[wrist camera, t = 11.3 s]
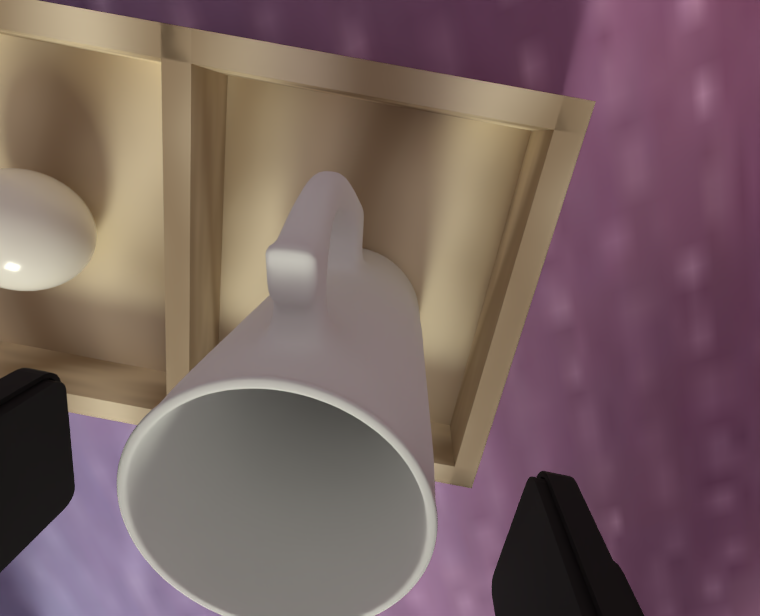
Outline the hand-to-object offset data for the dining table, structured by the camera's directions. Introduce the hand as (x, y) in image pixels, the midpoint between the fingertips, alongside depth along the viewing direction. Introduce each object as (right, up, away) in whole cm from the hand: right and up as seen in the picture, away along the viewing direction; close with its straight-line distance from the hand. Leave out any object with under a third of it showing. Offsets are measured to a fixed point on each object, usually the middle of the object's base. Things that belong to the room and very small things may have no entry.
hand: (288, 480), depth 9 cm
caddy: (-6, +7, +12) cm, 15 cm away
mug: (+1, +5, +11) cm, 12 cm away
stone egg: (-12, +7, +11) cm, 18 cm away
